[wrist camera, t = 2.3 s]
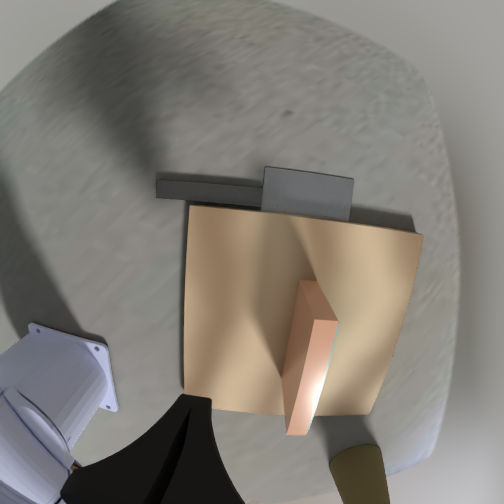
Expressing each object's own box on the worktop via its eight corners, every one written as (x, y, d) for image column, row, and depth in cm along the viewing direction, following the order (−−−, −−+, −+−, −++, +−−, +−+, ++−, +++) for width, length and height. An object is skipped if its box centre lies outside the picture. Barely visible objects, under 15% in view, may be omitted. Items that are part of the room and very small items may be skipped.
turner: (158, 217, 20) (154, 218, 19) (163, 159, 19) (159, 159, 18) (345, 236, 20) (348, 239, 19) (352, 179, 19) (356, 179, 18)
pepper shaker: (356, 439, 24) (381, 524, 14) (391, 449, 25) (420, 522, 14) (318, 469, 25) (330, 549, 15) (355, 477, 26) (372, 548, 15)
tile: (281, 378, 21) (286, 434, 15) (299, 279, 19) (314, 319, 13) (298, 379, 21) (308, 435, 15) (318, 281, 19) (341, 321, 13)
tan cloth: (187, 395, 23) (184, 403, 22) (193, 204, 20) (189, 205, 18) (365, 405, 23) (369, 414, 22) (416, 232, 20) (423, 235, 18)
